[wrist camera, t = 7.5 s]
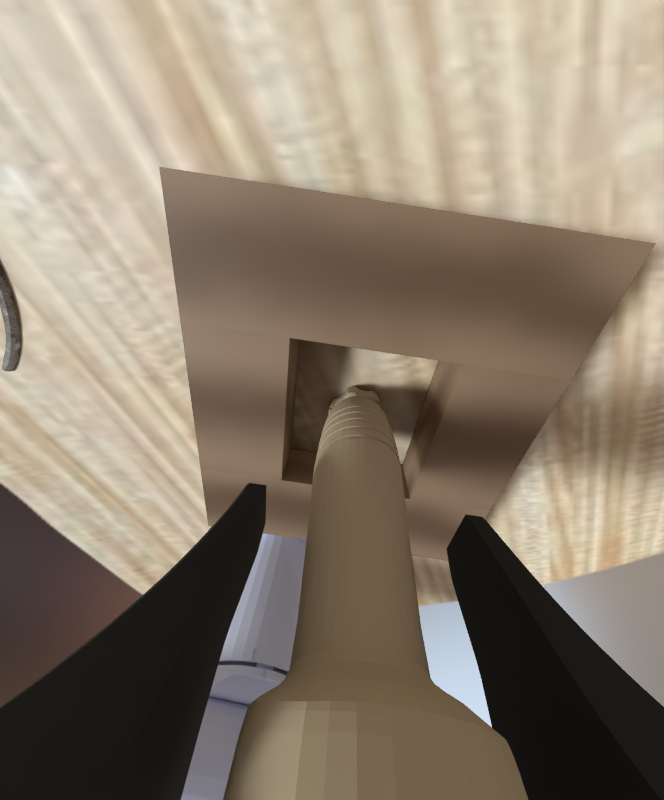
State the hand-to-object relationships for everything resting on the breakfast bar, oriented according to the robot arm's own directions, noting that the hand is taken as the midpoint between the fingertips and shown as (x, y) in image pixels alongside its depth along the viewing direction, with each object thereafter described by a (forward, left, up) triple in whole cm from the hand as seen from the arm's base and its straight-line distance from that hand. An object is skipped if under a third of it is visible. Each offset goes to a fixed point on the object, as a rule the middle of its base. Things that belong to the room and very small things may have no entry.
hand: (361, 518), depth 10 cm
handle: (0, 0, -9) cm, 9 cm away
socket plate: (0, 0, -8) cm, 8 cm away
